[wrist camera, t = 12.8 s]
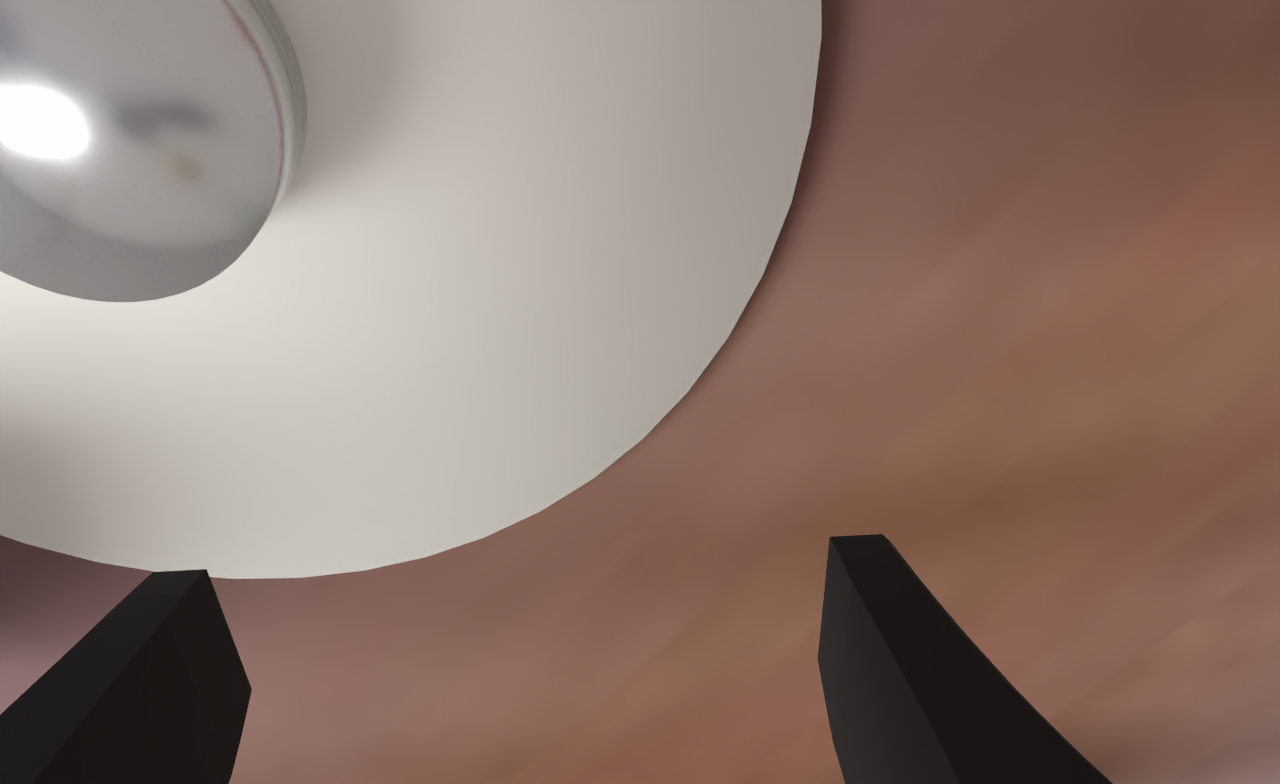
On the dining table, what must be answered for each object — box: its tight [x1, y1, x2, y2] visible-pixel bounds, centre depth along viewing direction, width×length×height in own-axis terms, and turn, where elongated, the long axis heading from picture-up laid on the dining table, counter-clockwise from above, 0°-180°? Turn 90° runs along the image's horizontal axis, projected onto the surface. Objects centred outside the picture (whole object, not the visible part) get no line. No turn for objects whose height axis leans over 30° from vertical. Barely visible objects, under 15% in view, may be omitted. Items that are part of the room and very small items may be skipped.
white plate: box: [0, 0, 822, 579], centre depth 17 cm, size 25×25×1 cm
